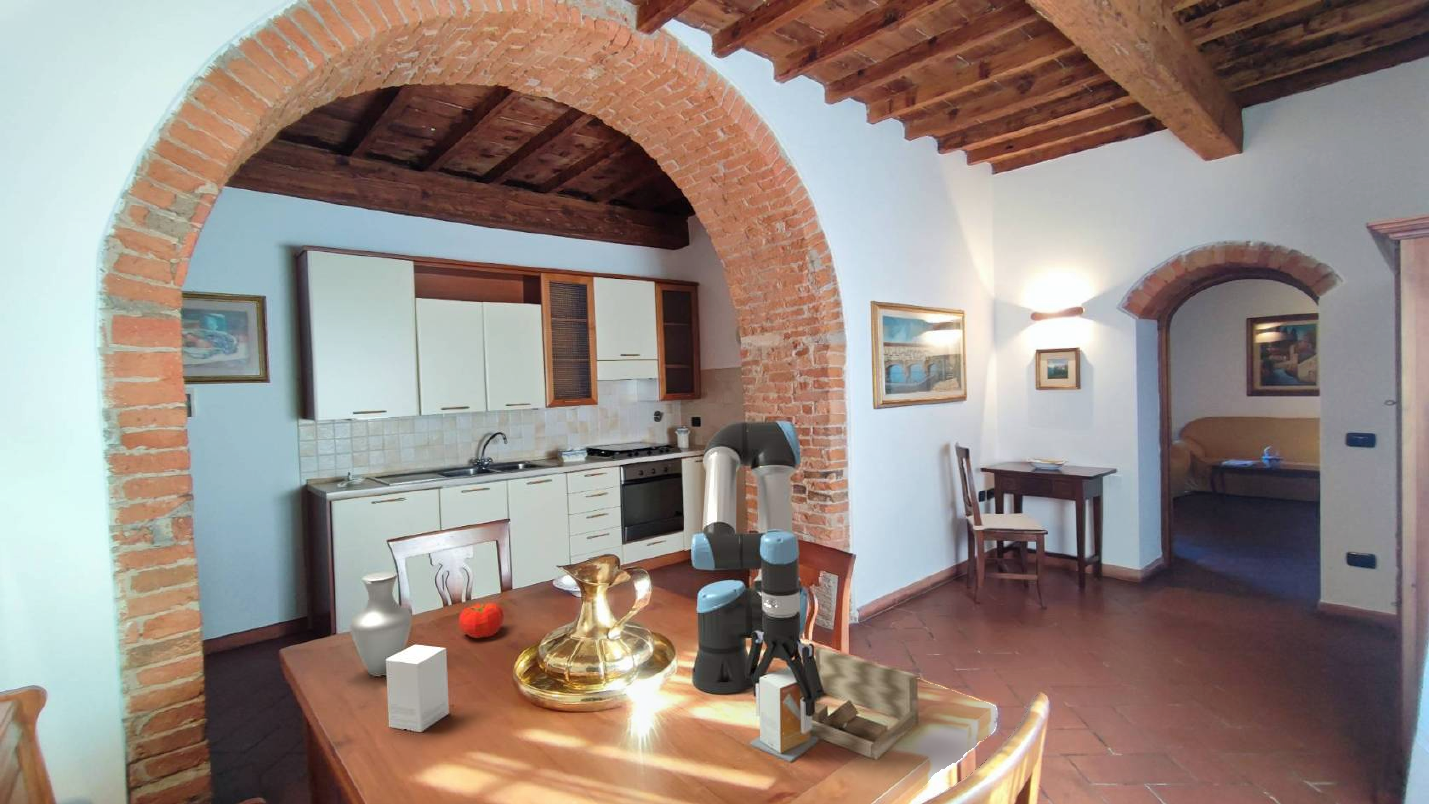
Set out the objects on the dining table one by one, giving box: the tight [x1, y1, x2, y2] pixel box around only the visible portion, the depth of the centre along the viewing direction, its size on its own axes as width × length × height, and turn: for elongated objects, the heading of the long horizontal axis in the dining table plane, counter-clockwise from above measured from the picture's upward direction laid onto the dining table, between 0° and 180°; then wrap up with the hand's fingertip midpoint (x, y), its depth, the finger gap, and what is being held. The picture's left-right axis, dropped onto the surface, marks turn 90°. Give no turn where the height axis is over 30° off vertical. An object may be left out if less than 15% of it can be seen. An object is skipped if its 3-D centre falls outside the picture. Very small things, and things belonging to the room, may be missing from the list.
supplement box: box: [386, 644, 450, 733], centre depth 147 cm, size 9×9×15 cm
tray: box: [810, 646, 919, 761], centre depth 142 cm, size 24×18×10 cm
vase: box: [349, 571, 413, 675], centre depth 173 cm, size 14×14×25 cm
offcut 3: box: [845, 714, 889, 743], centre depth 134 cm, size 7×4×4 cm, turn 49°
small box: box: [759, 666, 811, 753], centre depth 134 cm, size 8×6×13 cm
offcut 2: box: [822, 700, 860, 730], centre depth 137 cm, size 6×4×3 cm
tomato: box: [458, 602, 504, 639], centre depth 197 cm, size 14×13×9 cm
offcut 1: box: [812, 701, 829, 724], centre depth 143 cm, size 7×4×4 cm, turn 52°
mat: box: [748, 734, 820, 763], centre depth 134 cm, size 10×10×1 cm
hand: (783, 721), depth 134 cm, fingers open, 10 cm apart
